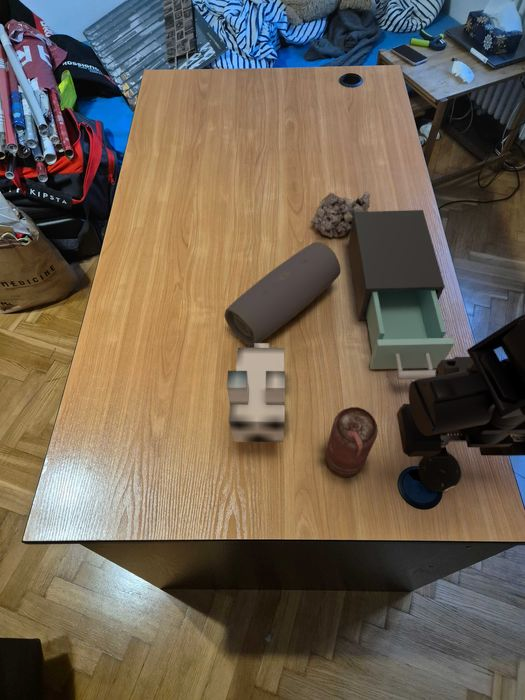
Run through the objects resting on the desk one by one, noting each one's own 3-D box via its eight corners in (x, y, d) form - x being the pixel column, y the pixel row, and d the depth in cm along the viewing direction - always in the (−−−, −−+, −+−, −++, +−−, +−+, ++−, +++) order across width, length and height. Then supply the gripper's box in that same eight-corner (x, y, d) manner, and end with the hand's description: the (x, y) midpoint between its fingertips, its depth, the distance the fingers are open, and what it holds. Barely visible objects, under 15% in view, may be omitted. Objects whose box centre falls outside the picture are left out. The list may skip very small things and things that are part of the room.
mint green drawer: (446, 391, 80) (461, 368, 74) (373, 393, 80) (382, 370, 74) (420, 287, 93) (431, 259, 86) (357, 288, 93) (363, 261, 86)
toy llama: (283, 365, 85) (284, 296, 68) (283, 459, 76) (284, 405, 59) (242, 365, 85) (233, 296, 68) (237, 458, 76) (225, 405, 59)
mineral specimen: (373, 196, 103) (358, 174, 95) (377, 235, 101) (362, 216, 93) (322, 212, 109) (303, 193, 101) (325, 249, 107) (306, 233, 99)
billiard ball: (426, 501, 71) (437, 490, 66) (407, 465, 74) (416, 452, 69) (461, 488, 72) (474, 476, 67) (440, 453, 75) (452, 439, 70)
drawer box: (429, 319, 90) (444, 286, 81) (358, 320, 90) (366, 288, 82) (411, 245, 100) (423, 209, 92) (347, 246, 100) (353, 211, 92)
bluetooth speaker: (305, 266, 98) (308, 230, 89) (339, 290, 94) (345, 255, 85) (224, 330, 90) (219, 297, 81) (258, 359, 86) (256, 328, 77)
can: (333, 484, 73) (343, 453, 61) (319, 447, 76) (327, 410, 65) (369, 474, 74) (387, 441, 62) (354, 437, 77) (368, 399, 65)
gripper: (563, 338, 55) (508, 397, 68) (403, 342, 55) (379, 400, 69) (600, 426, 49) (532, 473, 62) (421, 430, 49) (391, 475, 63)
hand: (456, 452), depth 64 cm, fingers open, 6 cm apart
